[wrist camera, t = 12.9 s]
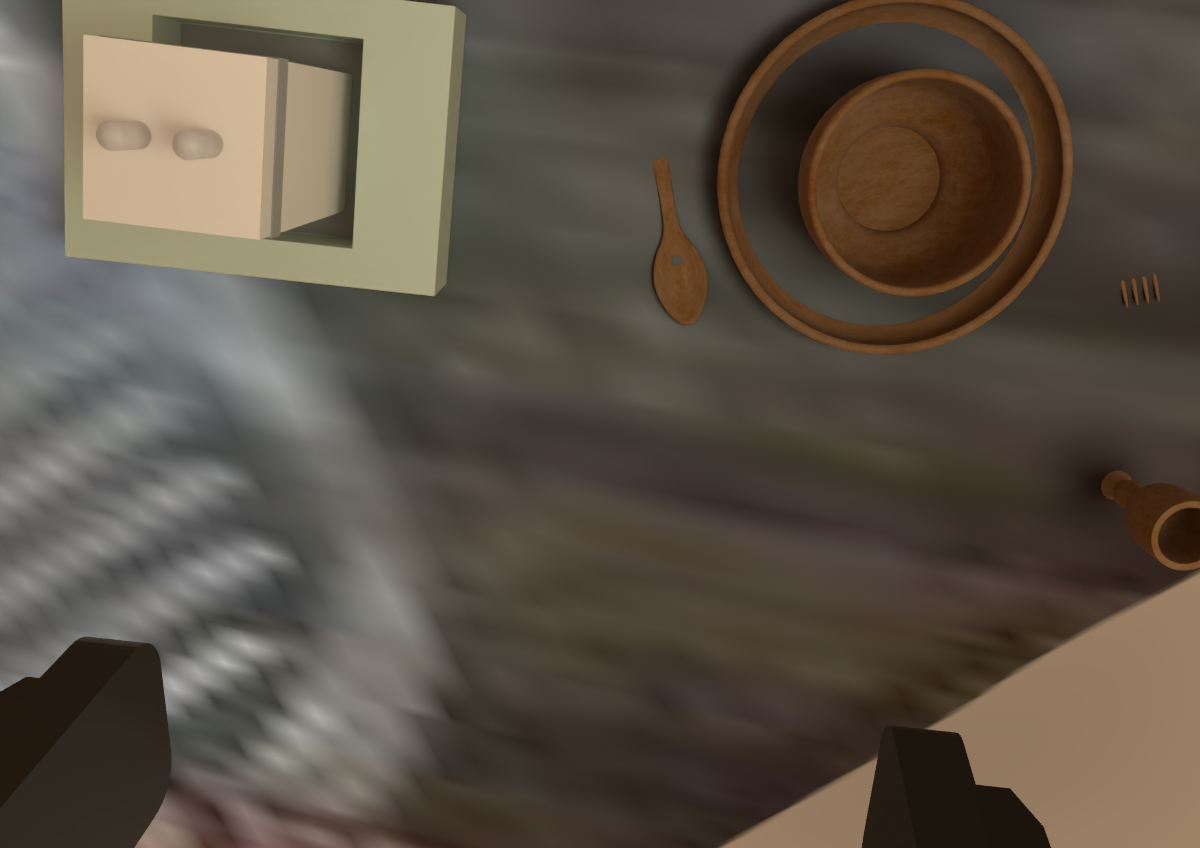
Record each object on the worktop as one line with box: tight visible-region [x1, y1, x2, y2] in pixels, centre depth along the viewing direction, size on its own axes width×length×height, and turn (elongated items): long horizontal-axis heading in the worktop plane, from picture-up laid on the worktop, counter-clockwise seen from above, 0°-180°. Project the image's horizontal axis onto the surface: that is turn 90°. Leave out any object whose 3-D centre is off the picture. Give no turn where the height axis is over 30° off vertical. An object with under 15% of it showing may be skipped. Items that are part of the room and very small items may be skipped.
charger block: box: [83, 34, 352, 240], centre depth 33 cm, size 5×5×12 cm
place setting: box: [653, 0, 1200, 570], centre depth 38 cm, size 18×20×6 cm
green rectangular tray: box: [62, 0, 466, 296], centre depth 37 cm, size 12×9×3 cm
